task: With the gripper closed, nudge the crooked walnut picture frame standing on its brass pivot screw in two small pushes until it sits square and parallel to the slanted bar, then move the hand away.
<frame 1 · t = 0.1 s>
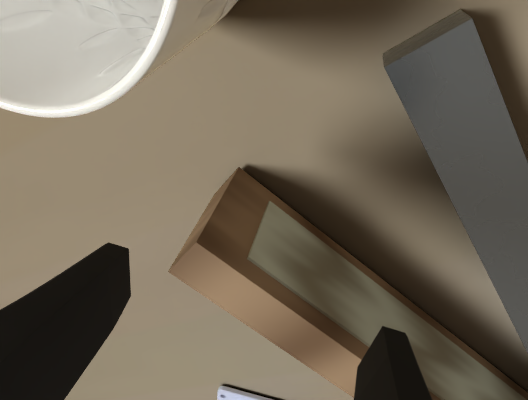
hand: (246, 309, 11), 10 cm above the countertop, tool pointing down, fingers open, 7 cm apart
slanted bar: (516, 250, 19), on the countertop
picture frame: (402, 361, 20), point 4 cm above the countertop, hinge at 18.0°
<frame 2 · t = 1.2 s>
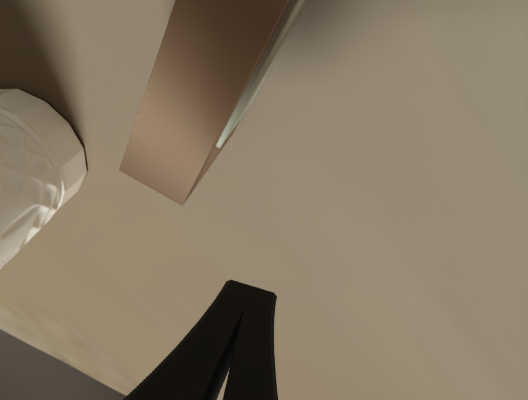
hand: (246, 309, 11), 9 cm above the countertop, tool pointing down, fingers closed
white cup: (36, 143, 22), on the countertop
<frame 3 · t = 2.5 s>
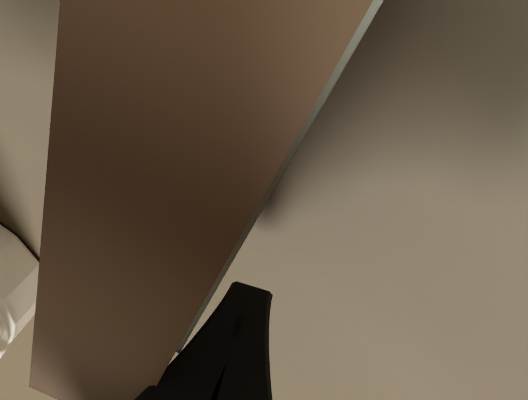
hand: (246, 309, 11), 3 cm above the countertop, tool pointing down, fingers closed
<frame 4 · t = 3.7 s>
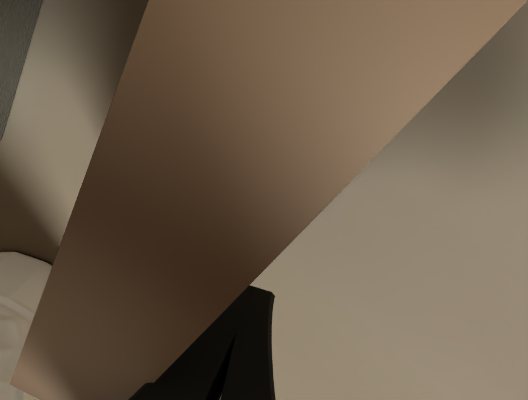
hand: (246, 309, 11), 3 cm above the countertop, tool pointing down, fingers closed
white cup: (44, 298, 19), on the countertop
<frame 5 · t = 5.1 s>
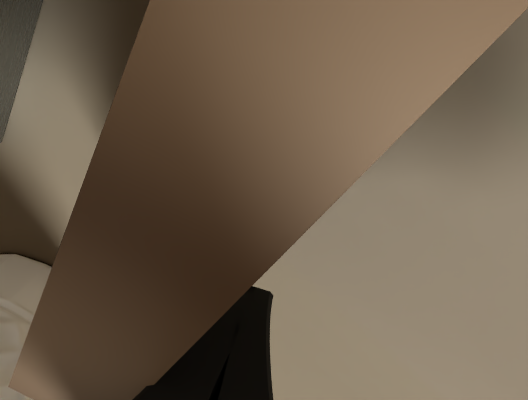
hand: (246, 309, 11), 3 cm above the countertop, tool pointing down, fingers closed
white cup: (45, 300, 19), on the countertop
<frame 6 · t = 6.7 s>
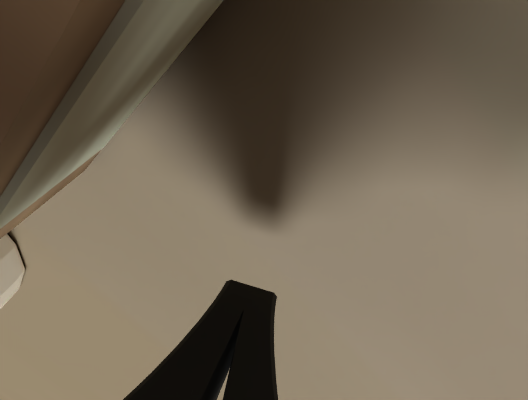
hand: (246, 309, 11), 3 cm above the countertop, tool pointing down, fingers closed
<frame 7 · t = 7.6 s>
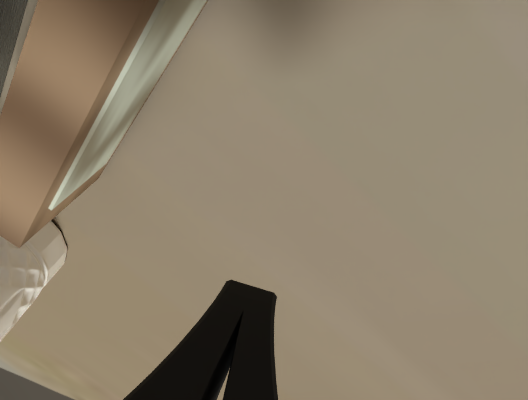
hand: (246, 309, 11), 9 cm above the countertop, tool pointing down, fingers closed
white cup: (25, 230, 26), on the countertop
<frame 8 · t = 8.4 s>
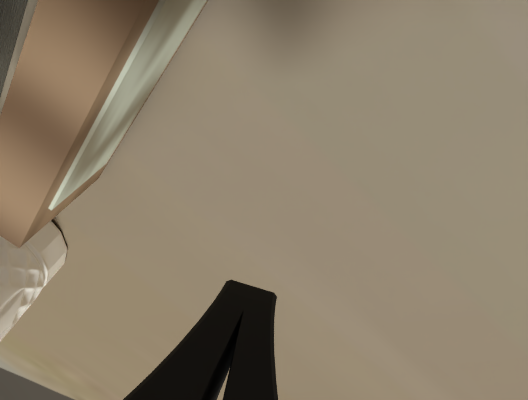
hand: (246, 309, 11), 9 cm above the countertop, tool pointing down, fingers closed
white cup: (25, 230, 26), on the countertop
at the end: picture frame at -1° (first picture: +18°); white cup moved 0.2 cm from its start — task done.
